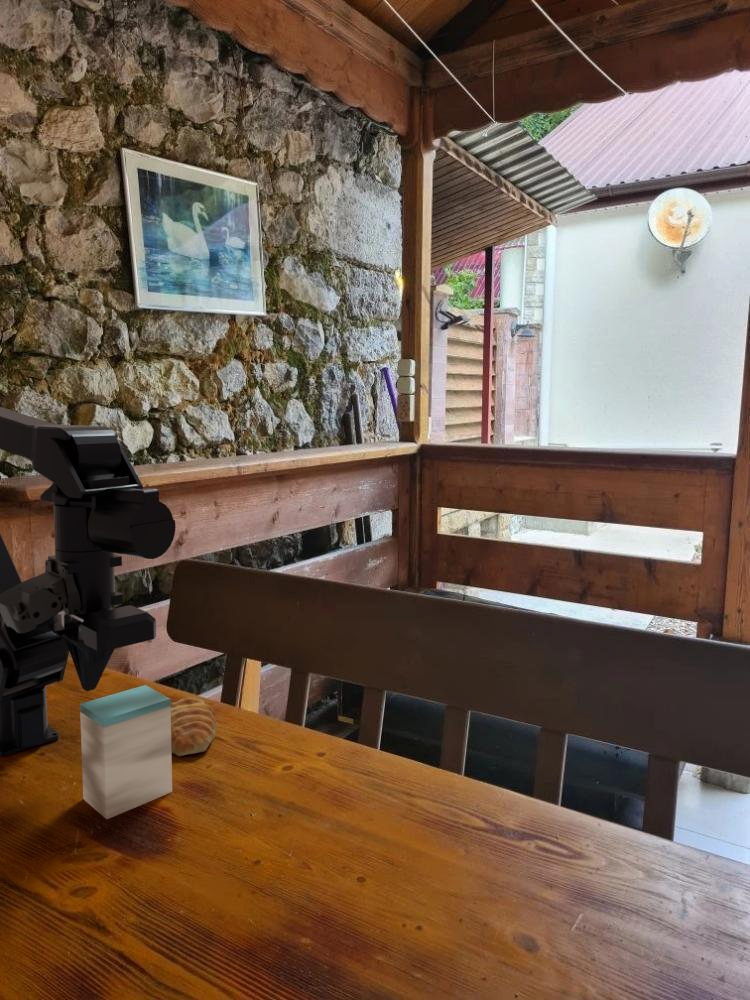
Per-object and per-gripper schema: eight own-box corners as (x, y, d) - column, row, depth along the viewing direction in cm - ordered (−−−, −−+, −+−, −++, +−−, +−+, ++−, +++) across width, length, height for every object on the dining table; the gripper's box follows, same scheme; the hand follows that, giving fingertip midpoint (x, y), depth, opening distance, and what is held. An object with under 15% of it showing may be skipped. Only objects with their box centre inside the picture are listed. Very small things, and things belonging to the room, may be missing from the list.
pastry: (223, 755, 81) (222, 723, 81) (161, 764, 79) (160, 732, 79) (213, 720, 90) (212, 691, 90) (157, 728, 88) (156, 698, 87)
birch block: (83, 799, 72) (79, 703, 70) (147, 774, 77) (145, 684, 75) (106, 819, 68) (103, 719, 67) (172, 791, 73) (170, 698, 72)
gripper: (-30, 543, 75) (-23, 684, 77) (42, 574, 63) (48, 743, 65) (74, 531, 83) (79, 660, 85) (157, 557, 71) (160, 707, 73)
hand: (89, 689), depth 77 cm, fingers closed
